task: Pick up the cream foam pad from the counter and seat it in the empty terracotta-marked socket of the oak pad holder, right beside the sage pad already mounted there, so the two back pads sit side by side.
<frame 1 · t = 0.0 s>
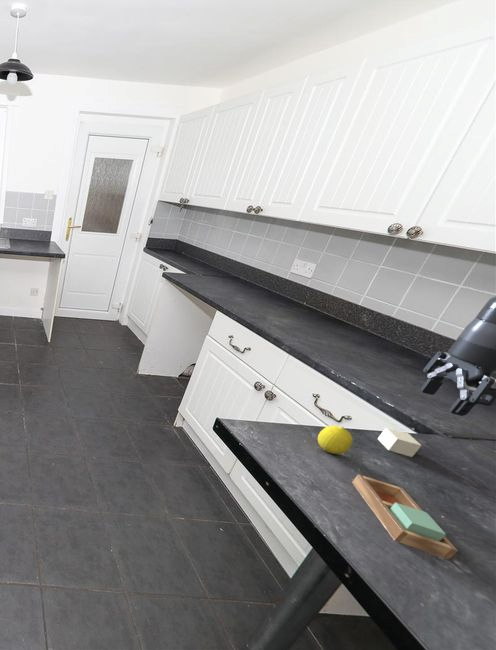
hand: (440, 402, 77), 17 cm above the table, tool pointing down, fingers open, 8 cm apart
sage pad: (406, 531, 63), point 1 cm above the table, touching pad holder
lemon: (325, 452, 82), on the table
cream pad: (394, 447, 86), on the table
pad holder: (393, 518, 66), on the table
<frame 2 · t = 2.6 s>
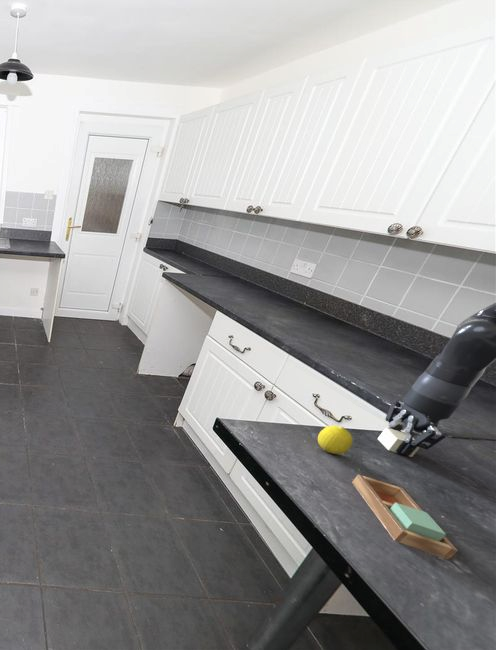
hand: (394, 446, 86), 0 cm above the table, tool pointing down, fingers closed on cream pad, 4 cm apart
cream pad: (394, 447, 86), on the table, touching gripper
everything else where it was.
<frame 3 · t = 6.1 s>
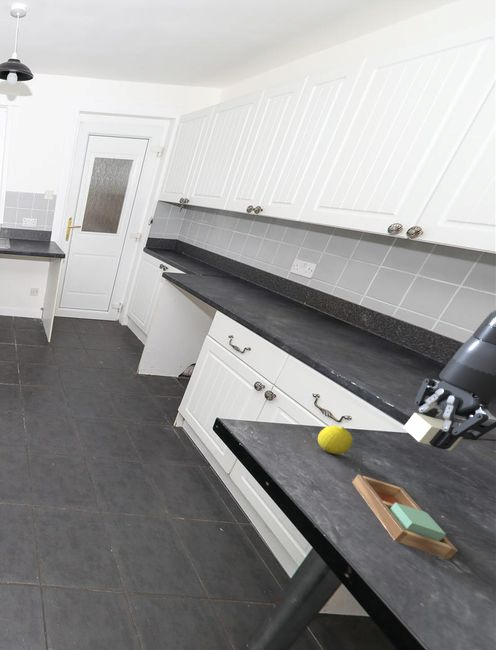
hand: (427, 437, 66), 16 cm above the table, tool pointing down, fingers closed on cream pad, 4 cm apart
cream pad: (425, 438, 66), point 15 cm above the table, touching gripper
everything else where it was.
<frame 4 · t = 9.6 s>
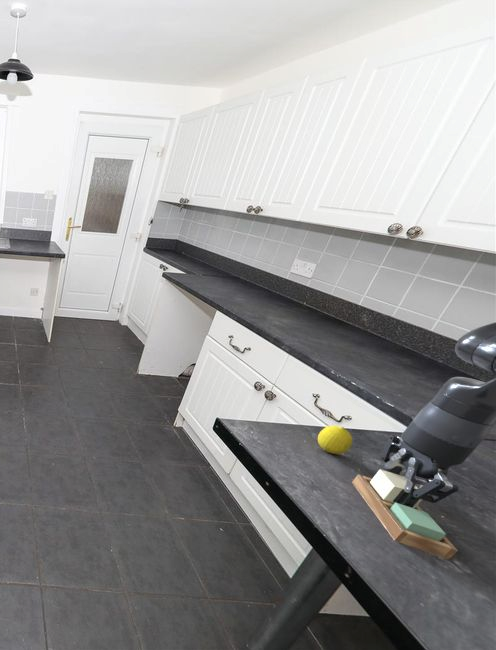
hand: (391, 494, 68), 3 cm above the table, tool pointing down, fingers closed on cream pad, 4 cm apart
cream pad: (390, 495, 68), point 3 cm above the table, touching gripper
everything else where it was.
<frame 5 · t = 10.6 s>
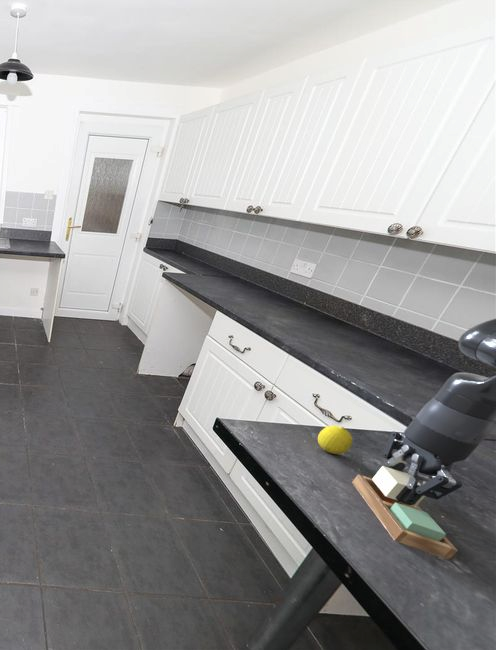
hand: (394, 491, 68), 4 cm above the table, tool pointing down, fingers closed on cream pad, 4 cm apart
cream pad: (392, 492, 68), point 4 cm above the table, touching gripper
everything else where it was.
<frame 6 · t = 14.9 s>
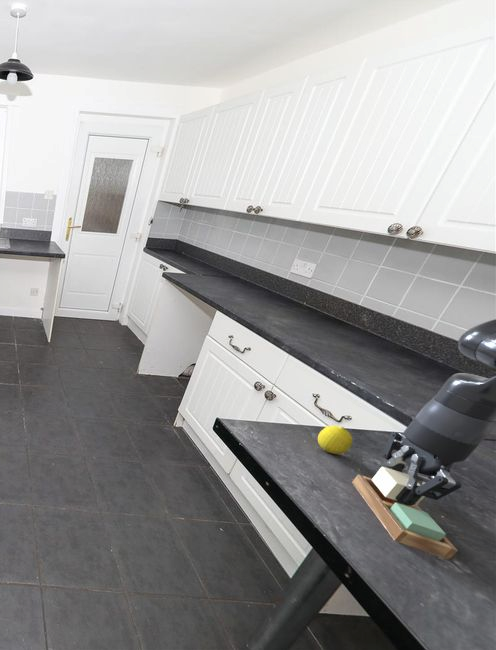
hand: (393, 491, 68), 4 cm above the table, tool pointing down, fingers closed on cream pad, 4 cm apart
cream pad: (392, 492, 68), point 4 cm above the table, touching gripper
everything else where it was.
when the fingers open (5 cm above the table, at t = 18.7 s): cream pad drops 3 cm, resting on pad holder.
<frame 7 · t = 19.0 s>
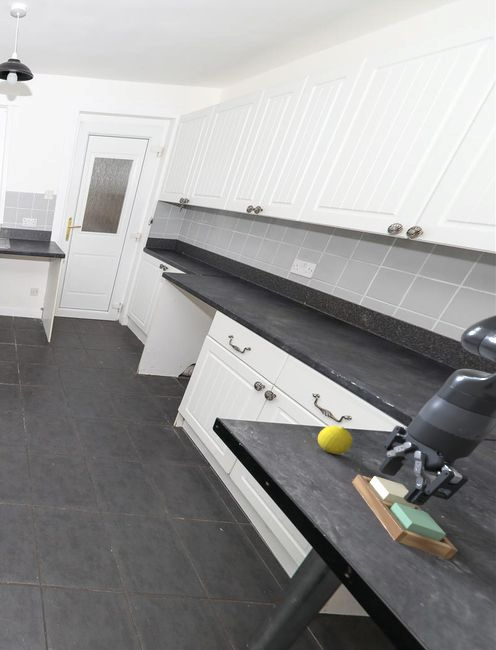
hand: (397, 486, 67), 5 cm above the table, tool pointing down, fingers open, 7 cm apart
cream pad: (384, 502, 69), point 1 cm above the table, touching pad holder
everything else where it was.
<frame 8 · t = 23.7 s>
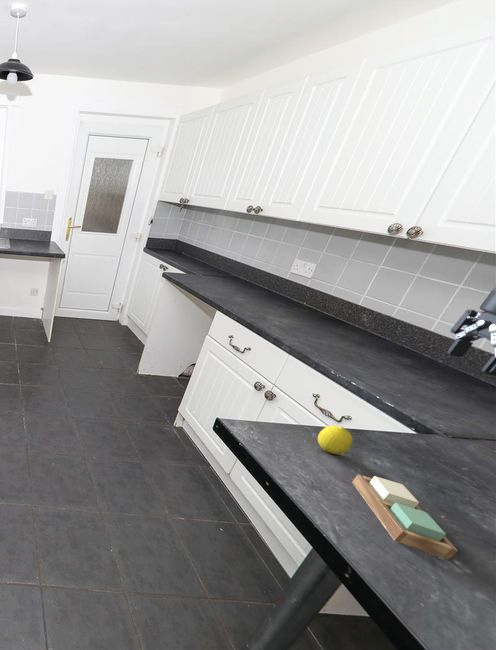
hand: (470, 364, 71), 28 cm above the table, tool pointing down, fingers open, 8 cm apart
nothing on the table moved.
at the end: cream pad 0.0 cm from the target spot in the pad holder, point 0.8 cm above the pad holder's base; cream pad tilted 0°; sage pad moved 0.0 cm from its start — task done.
